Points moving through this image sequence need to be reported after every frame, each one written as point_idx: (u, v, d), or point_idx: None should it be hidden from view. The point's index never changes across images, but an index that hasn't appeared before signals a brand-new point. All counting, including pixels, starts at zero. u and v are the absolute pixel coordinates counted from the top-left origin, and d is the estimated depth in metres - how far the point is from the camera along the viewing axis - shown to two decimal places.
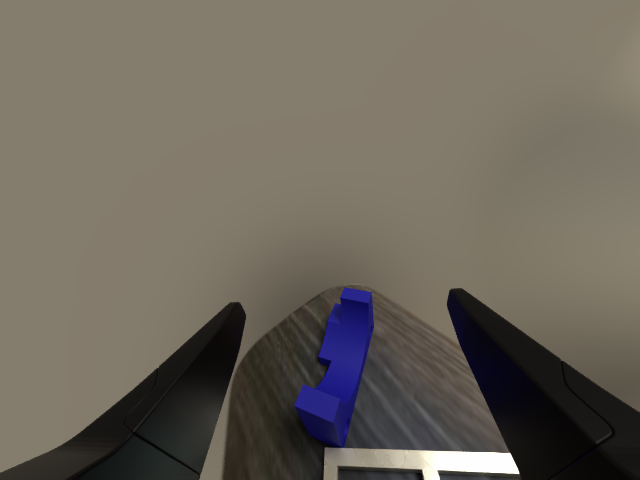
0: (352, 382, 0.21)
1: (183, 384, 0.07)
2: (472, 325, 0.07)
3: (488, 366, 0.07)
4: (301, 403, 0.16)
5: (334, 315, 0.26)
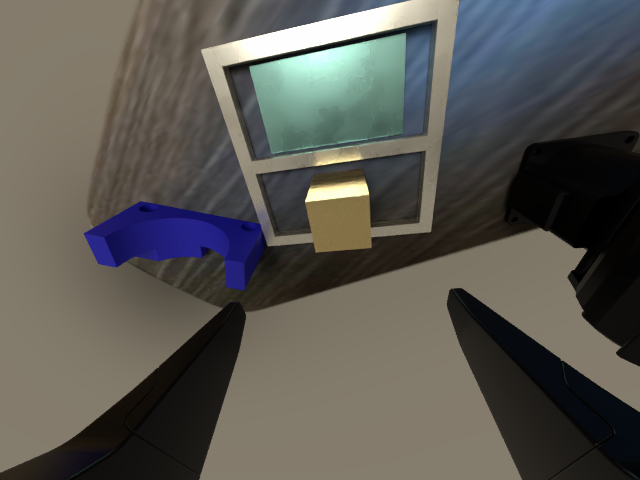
0: (210, 227, 0.21)
1: (183, 384, 0.07)
2: (472, 325, 0.07)
3: (488, 366, 0.07)
4: (241, 285, 0.19)
5: (148, 255, 0.22)
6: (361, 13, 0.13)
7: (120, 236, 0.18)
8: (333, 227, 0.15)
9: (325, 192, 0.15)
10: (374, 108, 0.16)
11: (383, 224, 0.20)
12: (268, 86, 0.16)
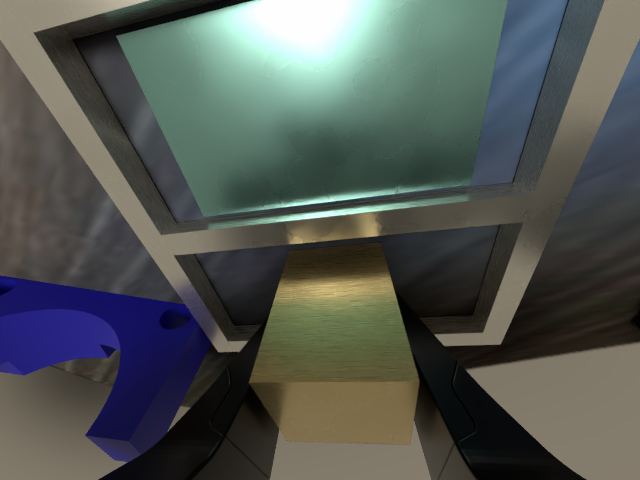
0: (103, 322, 0.12)
1: None
2: None
3: None
4: None
5: (1, 368, 0.12)
6: None
7: None
8: (323, 418, 0.07)
9: (302, 333, 0.07)
10: (413, 133, 0.07)
11: None
12: (171, 84, 0.07)
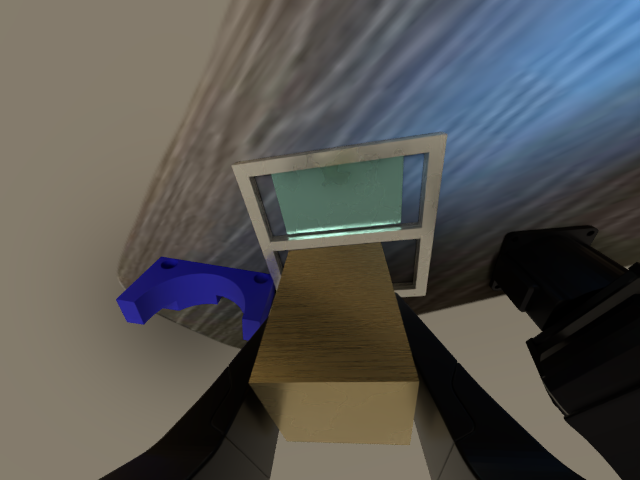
0: (226, 280, 0.23)
1: None
2: None
3: None
4: None
5: (169, 306, 0.24)
6: (367, 146, 0.16)
7: (147, 297, 0.20)
8: (323, 418, 0.07)
9: (302, 334, 0.07)
10: (376, 205, 0.19)
11: None
12: (286, 187, 0.18)
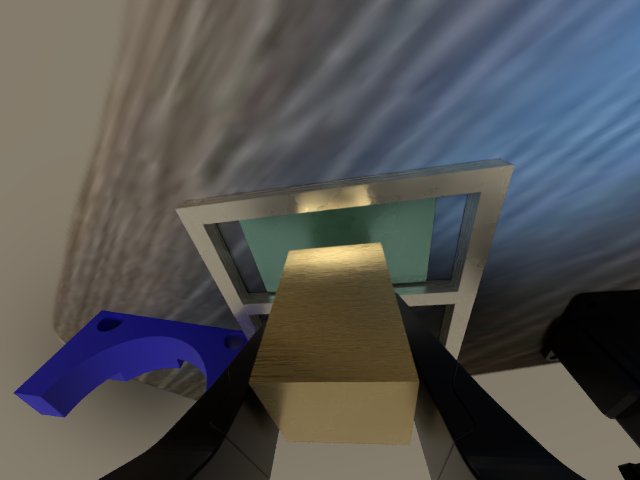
0: (186, 345, 0.17)
1: None
2: None
3: None
4: None
5: (112, 376, 0.18)
6: (381, 182, 0.10)
7: (67, 381, 0.14)
8: (323, 418, 0.07)
9: (302, 334, 0.07)
10: (392, 258, 0.13)
11: None
12: (262, 235, 0.13)
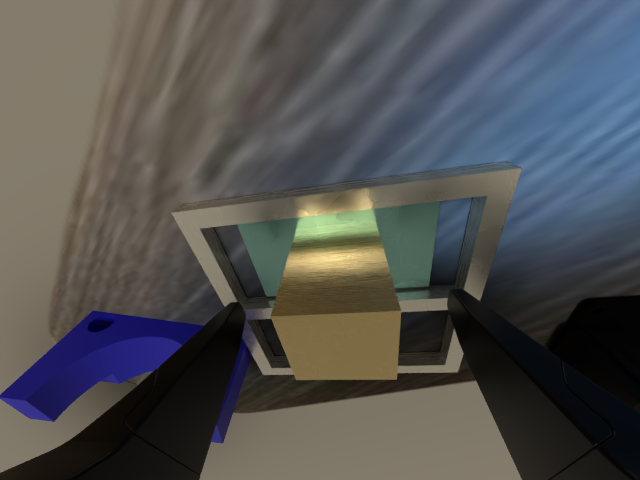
0: (179, 345, 0.16)
1: (183, 384, 0.07)
2: (472, 325, 0.07)
3: (488, 366, 0.07)
4: (217, 440, 0.14)
5: (105, 378, 0.17)
6: (384, 186, 0.10)
7: (54, 384, 0.14)
8: (327, 352, 0.08)
9: (311, 285, 0.08)
10: (394, 263, 0.13)
11: (400, 361, 0.17)
12: (260, 239, 0.12)
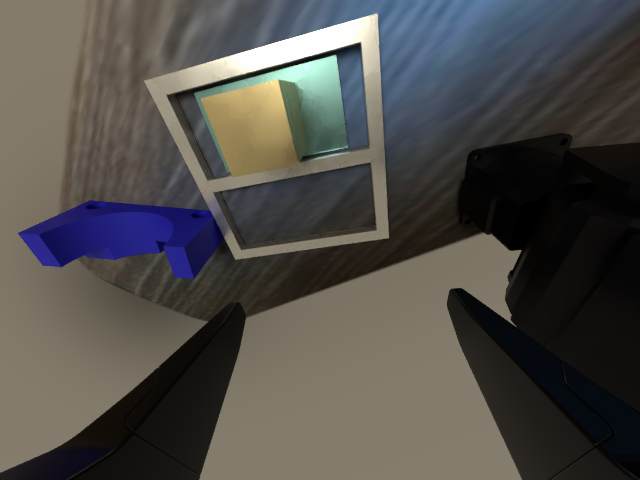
0: (159, 218, 0.20)
1: (183, 384, 0.07)
2: (472, 325, 0.07)
3: (488, 366, 0.07)
4: (188, 274, 0.18)
5: (102, 254, 0.21)
6: (288, 40, 0.13)
7: (60, 234, 0.18)
8: (244, 137, 0.12)
9: None
10: (317, 125, 0.17)
11: (342, 233, 0.21)
12: None
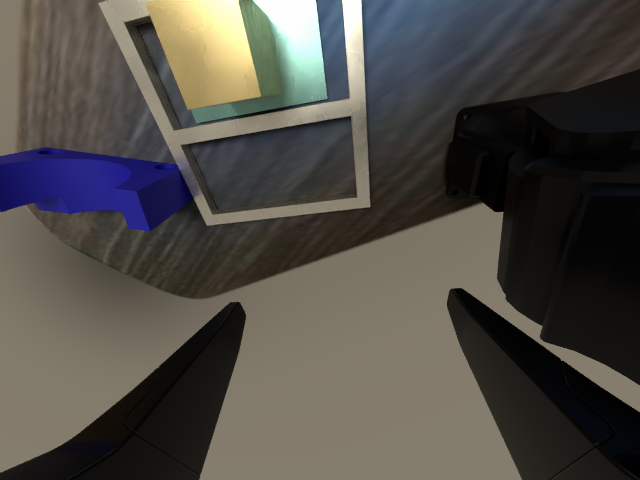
0: (119, 168, 0.18)
1: (183, 384, 0.07)
2: (472, 325, 0.07)
3: (488, 366, 0.07)
4: (144, 225, 0.16)
5: (56, 207, 0.19)
6: None
7: (1, 174, 0.16)
8: (198, 57, 0.11)
9: None
10: (293, 70, 0.15)
11: (321, 200, 0.19)
12: None
